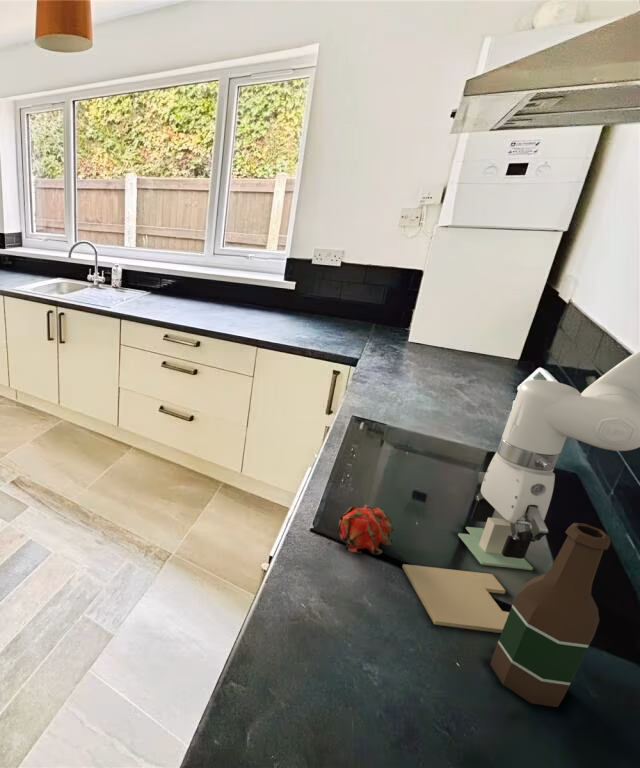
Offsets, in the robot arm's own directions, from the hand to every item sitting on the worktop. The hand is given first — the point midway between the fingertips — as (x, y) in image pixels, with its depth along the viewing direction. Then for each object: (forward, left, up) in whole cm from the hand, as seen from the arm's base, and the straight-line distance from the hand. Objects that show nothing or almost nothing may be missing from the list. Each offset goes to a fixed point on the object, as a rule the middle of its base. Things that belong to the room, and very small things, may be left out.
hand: (495, 537), depth 82 cm
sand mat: (+11, +13, -3) cm, 17 cm away
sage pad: (0, -1, -3) cm, 4 cm away
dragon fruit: (+23, +2, -4) cm, 23 cm away
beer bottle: (+10, +26, -4) cm, 28 cm away
